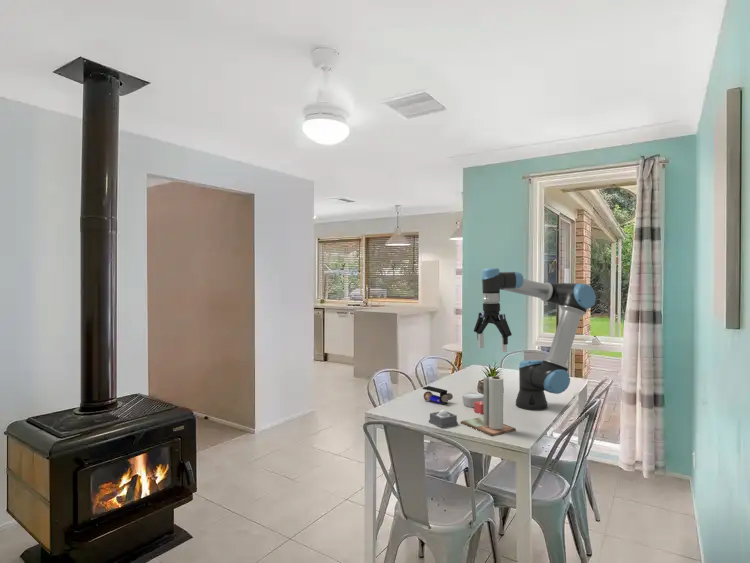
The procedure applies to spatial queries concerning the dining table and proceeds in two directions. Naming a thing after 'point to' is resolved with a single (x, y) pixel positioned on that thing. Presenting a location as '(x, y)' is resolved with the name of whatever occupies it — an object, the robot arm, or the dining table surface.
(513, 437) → the dining table surface
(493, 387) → the paper towel roll
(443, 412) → the pop dome
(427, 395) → the figurine character
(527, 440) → the dining table surface
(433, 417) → the button base
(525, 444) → the dining table surface
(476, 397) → the ramekin
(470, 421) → the game board
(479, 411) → the red die
